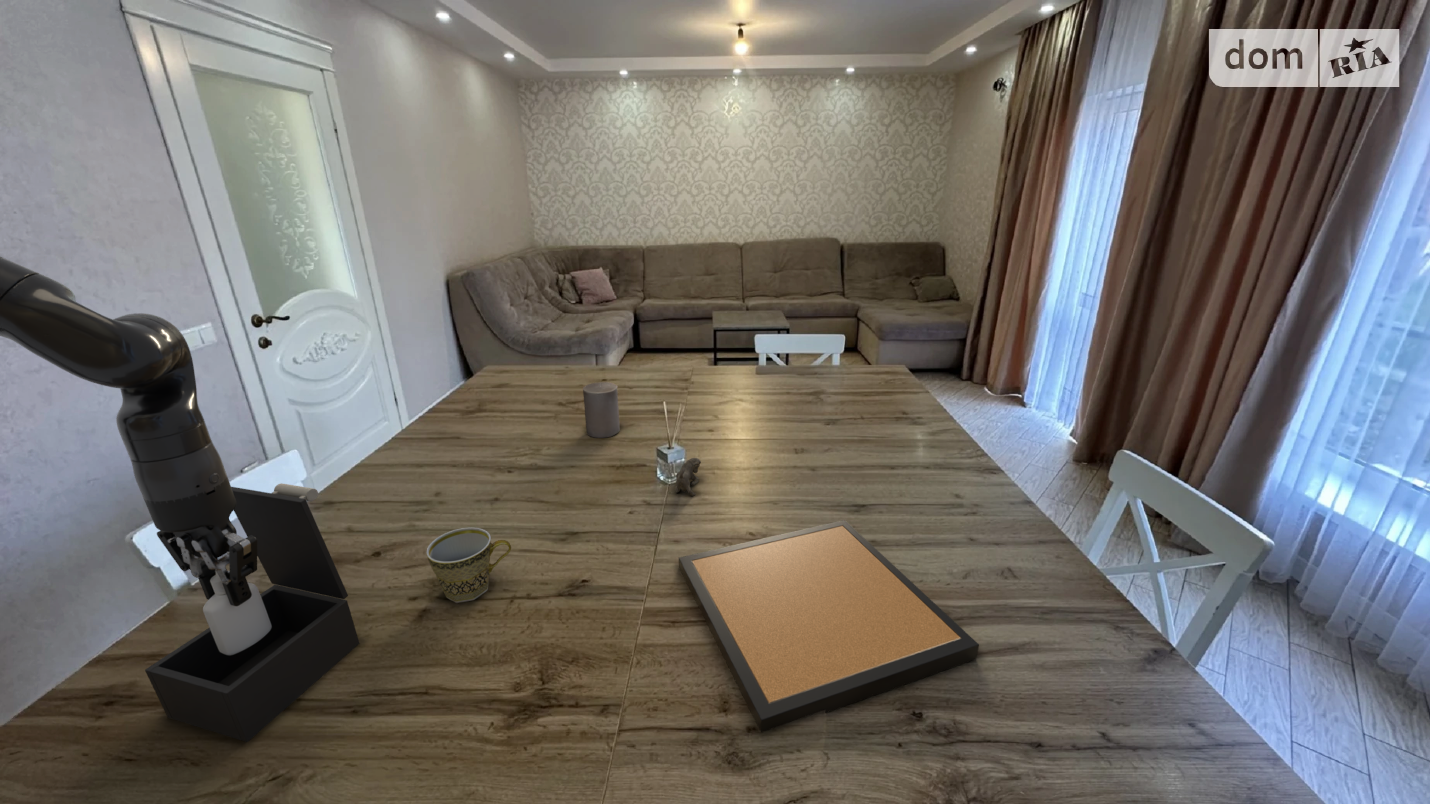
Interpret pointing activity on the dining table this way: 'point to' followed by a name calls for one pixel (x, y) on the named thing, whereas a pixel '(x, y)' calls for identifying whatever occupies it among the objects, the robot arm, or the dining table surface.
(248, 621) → the eye dropper bottle
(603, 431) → the pillar candle
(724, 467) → the dining table surface
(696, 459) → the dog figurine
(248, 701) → the black box
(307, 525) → the box lid
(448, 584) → the ceramic cup
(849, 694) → the cork board
